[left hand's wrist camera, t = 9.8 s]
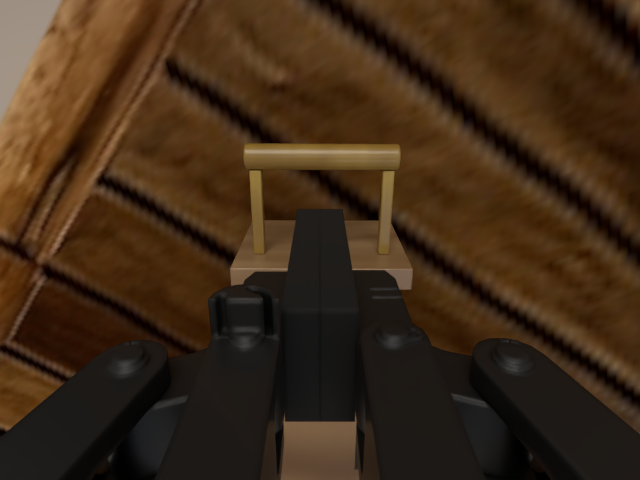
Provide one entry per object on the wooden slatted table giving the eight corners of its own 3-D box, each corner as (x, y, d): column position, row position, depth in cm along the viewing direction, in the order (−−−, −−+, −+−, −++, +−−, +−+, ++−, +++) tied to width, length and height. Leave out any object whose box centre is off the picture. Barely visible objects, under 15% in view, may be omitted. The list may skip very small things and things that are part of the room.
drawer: (247, 129, 27) (220, 150, 19) (396, 130, 27) (424, 151, 19) (263, 423, 35) (248, 514, 28) (376, 423, 35) (391, 514, 28)
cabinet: (252, 321, 33) (225, 417, 24) (389, 321, 33) (415, 417, 24) (262, 498, 39) (245, 626, 30) (376, 499, 39) (393, 627, 30)
